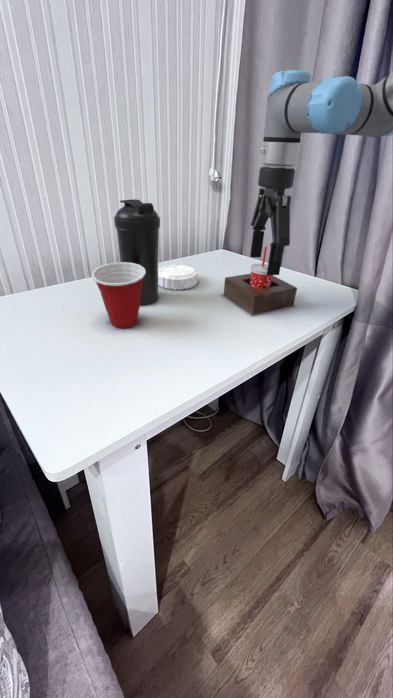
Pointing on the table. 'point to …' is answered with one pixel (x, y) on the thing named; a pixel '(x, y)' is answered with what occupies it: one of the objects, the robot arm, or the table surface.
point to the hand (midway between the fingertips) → (263, 265)
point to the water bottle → (140, 243)
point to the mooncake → (177, 277)
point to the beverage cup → (260, 275)
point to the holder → (259, 294)
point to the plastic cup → (120, 291)
